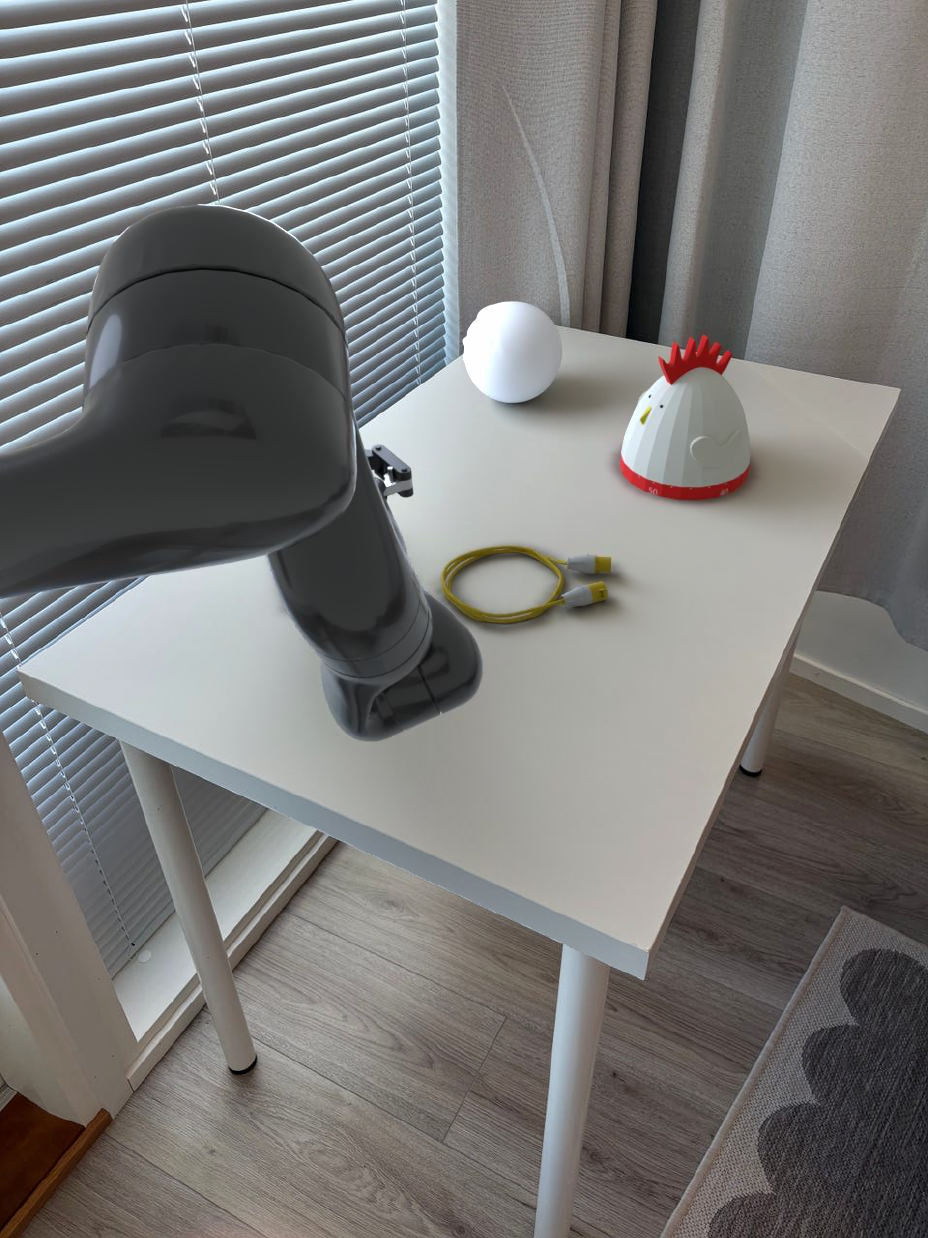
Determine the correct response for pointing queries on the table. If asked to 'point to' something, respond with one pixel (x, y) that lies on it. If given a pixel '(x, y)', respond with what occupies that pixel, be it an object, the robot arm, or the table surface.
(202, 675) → the table surface
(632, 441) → the kitchen timer
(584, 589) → the yellow coiled cord
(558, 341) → the decorative ball
